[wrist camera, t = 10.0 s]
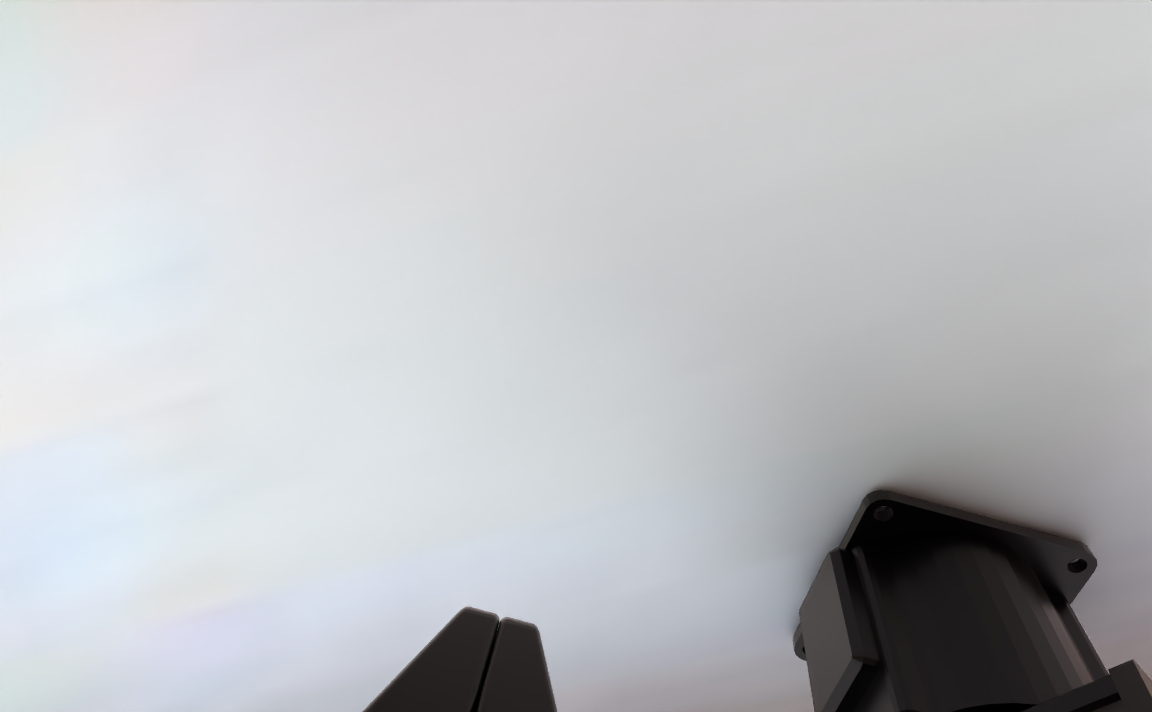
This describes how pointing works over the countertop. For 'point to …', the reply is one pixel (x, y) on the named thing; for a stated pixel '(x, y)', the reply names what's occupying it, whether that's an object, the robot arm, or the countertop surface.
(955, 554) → the robot arm
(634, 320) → the countertop surface
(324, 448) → the countertop surface
